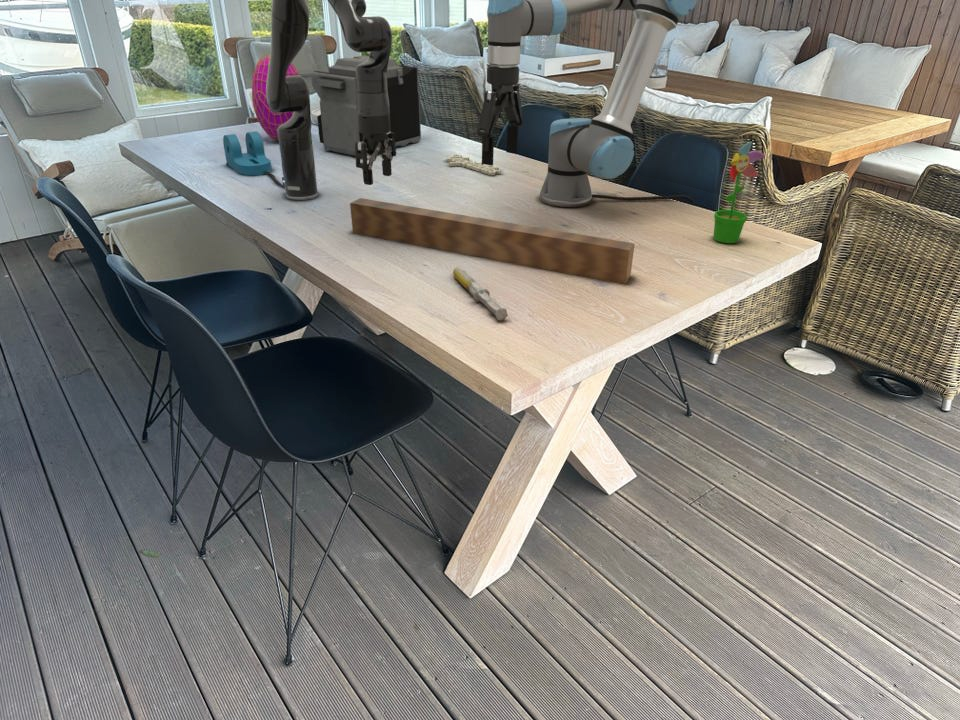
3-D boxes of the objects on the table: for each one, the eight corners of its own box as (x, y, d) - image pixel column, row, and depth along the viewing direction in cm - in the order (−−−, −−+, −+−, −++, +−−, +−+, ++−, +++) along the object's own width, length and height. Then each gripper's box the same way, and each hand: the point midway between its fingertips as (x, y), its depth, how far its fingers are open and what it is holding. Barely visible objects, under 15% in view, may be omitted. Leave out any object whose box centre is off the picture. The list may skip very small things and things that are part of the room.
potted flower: (724, 247, 171) (744, 145, 158) (701, 237, 177) (720, 137, 164) (751, 241, 175) (774, 141, 162) (728, 231, 181) (748, 134, 168)
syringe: (449, 274, 155) (449, 263, 153) (465, 272, 156) (464, 260, 154) (490, 323, 135) (491, 310, 133) (508, 319, 136) (508, 307, 134)
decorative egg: (293, 132, 276) (283, 50, 261) (319, 140, 264) (310, 56, 249) (249, 139, 265) (236, 54, 250) (273, 148, 253) (261, 60, 238)
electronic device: (383, 133, 276) (378, 52, 261) (425, 141, 265) (422, 56, 250) (314, 150, 251) (304, 61, 235) (358, 160, 240) (350, 67, 224)
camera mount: (227, 164, 233) (221, 132, 227) (257, 160, 238) (252, 129, 233) (244, 176, 220) (239, 143, 215) (276, 172, 225) (271, 139, 220)
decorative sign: (435, 158, 239) (457, 153, 245) (435, 161, 240) (457, 156, 245) (485, 174, 222) (507, 169, 228) (485, 177, 223) (507, 172, 228)
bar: (630, 276, 155) (634, 243, 151) (625, 284, 152) (629, 250, 148) (362, 227, 181) (360, 198, 177) (352, 233, 178) (350, 202, 173)
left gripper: (376, 105, 168) (380, 171, 176) (342, 115, 157) (348, 185, 165) (402, 107, 165) (405, 174, 174) (370, 118, 154) (375, 189, 163)
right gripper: (511, 58, 169) (508, 146, 180) (462, 70, 150) (462, 167, 161) (539, 61, 166) (534, 150, 177) (493, 72, 147) (490, 172, 158)
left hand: (378, 179), depth 169 cm, fingers open, 8 cm apart
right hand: (500, 158), depth 169 cm, fingers open, 13 cm apart
